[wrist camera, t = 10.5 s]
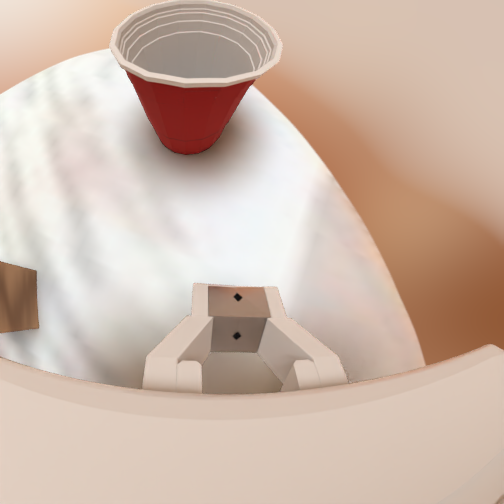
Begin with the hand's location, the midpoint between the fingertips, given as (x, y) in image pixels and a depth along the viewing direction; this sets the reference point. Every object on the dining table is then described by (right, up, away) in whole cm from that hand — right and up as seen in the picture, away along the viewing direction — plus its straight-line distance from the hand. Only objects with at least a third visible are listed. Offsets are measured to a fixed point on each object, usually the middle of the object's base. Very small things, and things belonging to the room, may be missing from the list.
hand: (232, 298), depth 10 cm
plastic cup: (-5, +13, +14) cm, 19 cm away
